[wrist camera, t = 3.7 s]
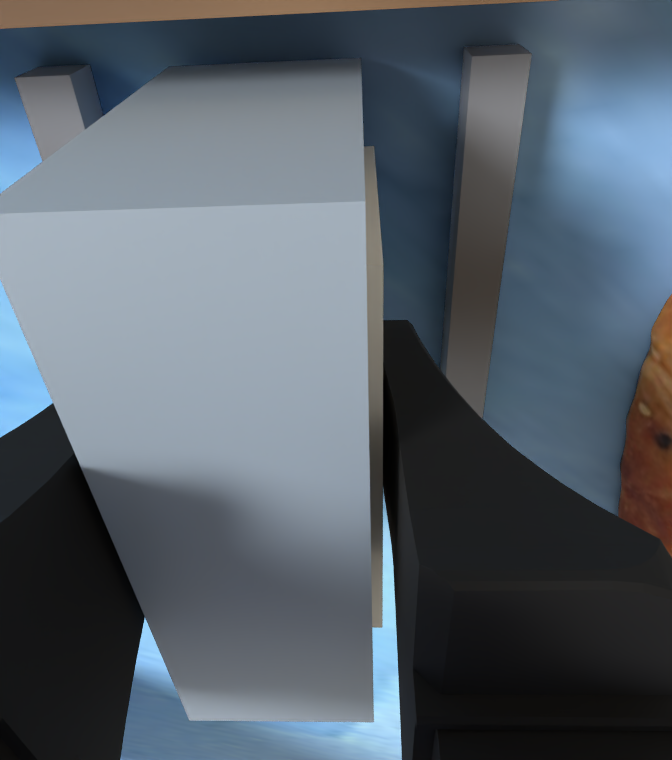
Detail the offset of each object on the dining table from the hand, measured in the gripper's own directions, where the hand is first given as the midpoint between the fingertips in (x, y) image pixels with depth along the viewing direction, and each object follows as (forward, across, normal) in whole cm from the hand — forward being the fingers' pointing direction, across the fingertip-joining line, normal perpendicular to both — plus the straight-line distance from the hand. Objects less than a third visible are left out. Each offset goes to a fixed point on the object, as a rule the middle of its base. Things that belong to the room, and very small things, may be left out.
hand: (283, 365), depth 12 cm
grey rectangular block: (+2, 0, 0) cm, 2 cm away
